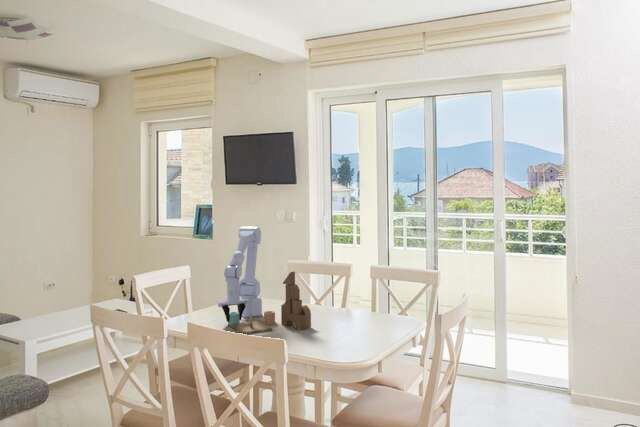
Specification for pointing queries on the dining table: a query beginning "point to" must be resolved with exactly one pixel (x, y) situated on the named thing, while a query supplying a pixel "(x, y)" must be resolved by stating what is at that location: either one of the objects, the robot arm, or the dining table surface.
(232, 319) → the teal bead
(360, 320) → the dining table surface
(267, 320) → the terracotta bead
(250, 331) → the brown piece
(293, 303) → the wooden toy
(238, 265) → the robot arm
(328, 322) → the dining table surface
